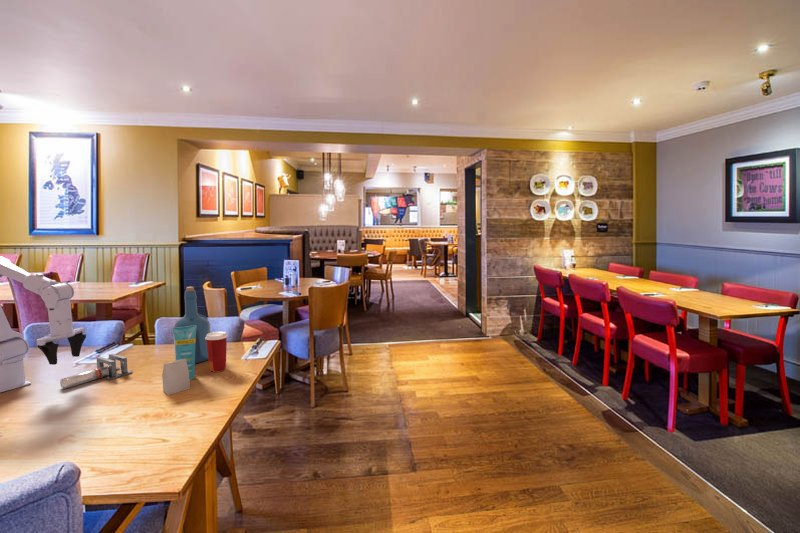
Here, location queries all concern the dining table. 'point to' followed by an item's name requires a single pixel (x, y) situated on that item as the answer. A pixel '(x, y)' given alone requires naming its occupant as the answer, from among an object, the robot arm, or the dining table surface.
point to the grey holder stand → (110, 367)
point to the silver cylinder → (84, 377)
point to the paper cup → (216, 350)
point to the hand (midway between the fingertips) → (64, 360)
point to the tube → (186, 346)
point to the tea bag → (175, 377)
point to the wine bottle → (195, 319)
